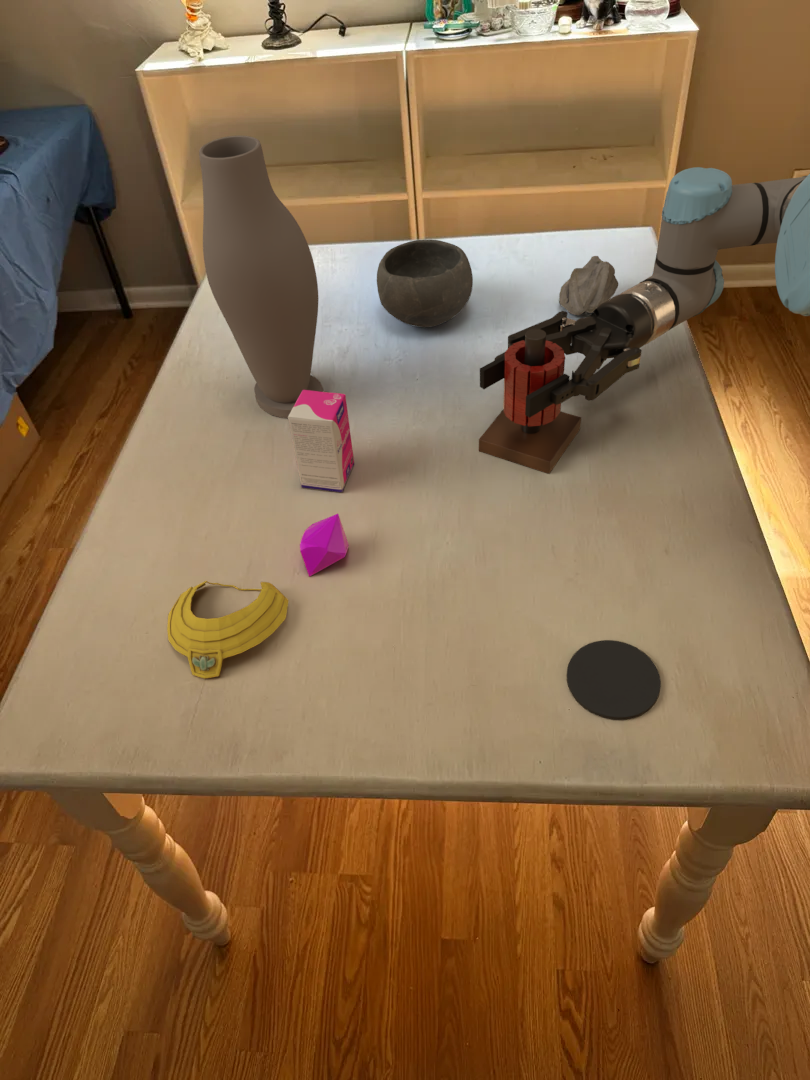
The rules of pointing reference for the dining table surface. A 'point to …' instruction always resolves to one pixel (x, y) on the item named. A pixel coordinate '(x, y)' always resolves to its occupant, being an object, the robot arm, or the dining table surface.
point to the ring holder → (531, 442)
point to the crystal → (323, 544)
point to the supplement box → (322, 440)
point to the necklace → (223, 628)
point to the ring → (530, 382)
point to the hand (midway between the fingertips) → (504, 392)
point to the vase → (259, 271)
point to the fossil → (588, 287)
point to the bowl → (424, 282)
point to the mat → (613, 679)
